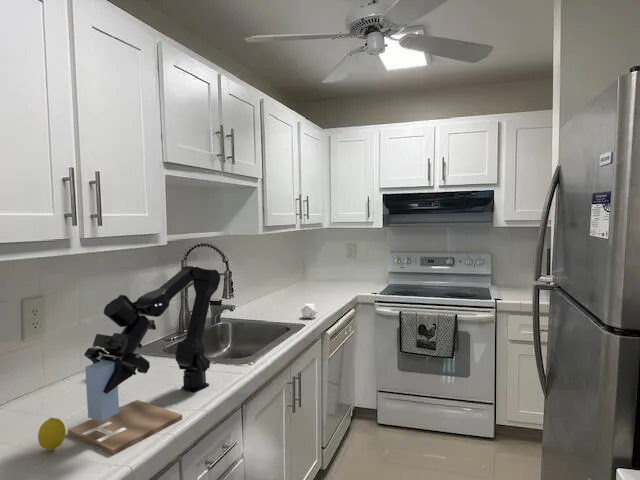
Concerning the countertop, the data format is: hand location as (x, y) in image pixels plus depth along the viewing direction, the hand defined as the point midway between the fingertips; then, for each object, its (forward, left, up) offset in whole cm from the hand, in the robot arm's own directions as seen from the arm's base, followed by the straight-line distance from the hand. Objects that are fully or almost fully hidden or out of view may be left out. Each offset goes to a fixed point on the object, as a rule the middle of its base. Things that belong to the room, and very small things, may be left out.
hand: (97, 391), depth 103 cm
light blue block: (-1, 0, -7) cm, 7 cm away
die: (-131, -23, -12) cm, 134 cm away
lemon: (+9, -5, -12) cm, 16 cm away
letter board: (-7, 0, -12) cm, 14 cm away
